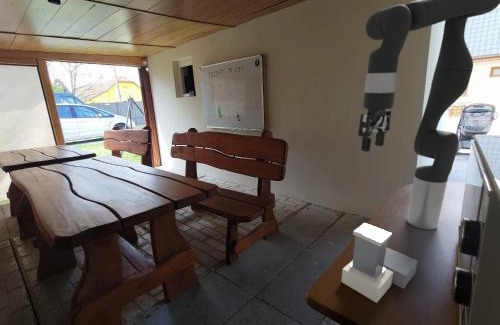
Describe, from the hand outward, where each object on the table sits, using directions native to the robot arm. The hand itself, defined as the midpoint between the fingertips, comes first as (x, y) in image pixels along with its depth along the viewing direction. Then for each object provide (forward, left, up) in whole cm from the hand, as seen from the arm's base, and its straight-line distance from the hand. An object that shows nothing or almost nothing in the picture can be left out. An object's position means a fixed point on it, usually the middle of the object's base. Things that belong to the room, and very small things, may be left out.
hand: (372, 148), depth 76 cm
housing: (+19, +10, -26) cm, 34 cm away
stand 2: (+10, +13, -30) cm, 34 cm away
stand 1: (+19, +10, -30) cm, 37 cm away
